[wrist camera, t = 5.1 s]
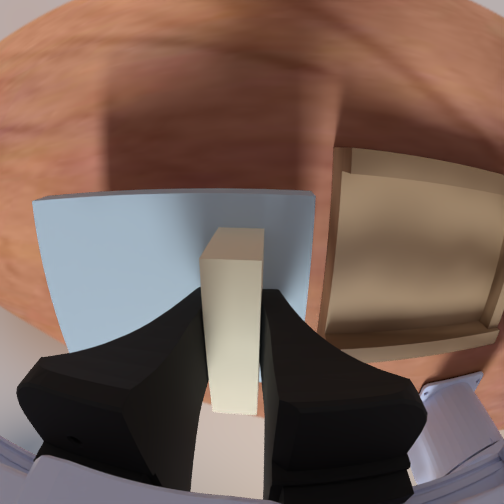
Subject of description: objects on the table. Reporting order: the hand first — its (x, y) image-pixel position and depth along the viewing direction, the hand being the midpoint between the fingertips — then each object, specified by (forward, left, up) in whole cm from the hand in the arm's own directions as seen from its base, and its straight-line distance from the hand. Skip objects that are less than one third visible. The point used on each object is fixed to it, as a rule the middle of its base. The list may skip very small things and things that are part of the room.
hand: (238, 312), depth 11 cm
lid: (0, +3, -2) cm, 4 cm away
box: (0, -12, -8) cm, 14 cm away
